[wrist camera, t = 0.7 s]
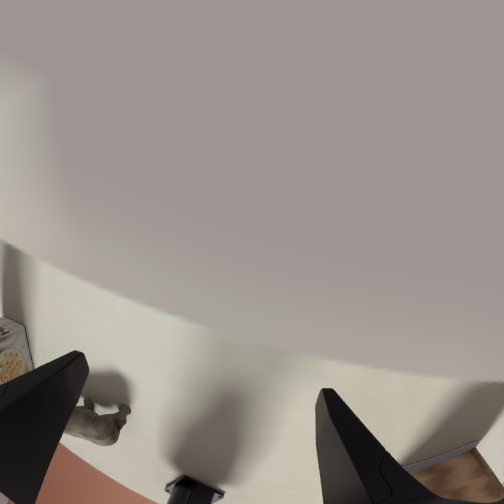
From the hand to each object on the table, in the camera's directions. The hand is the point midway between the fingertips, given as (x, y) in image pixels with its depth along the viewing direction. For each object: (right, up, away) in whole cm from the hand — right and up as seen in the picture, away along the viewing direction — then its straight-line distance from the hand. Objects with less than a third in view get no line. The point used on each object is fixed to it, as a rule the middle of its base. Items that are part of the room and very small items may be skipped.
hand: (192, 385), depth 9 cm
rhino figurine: (-19, -15, +19) cm, 31 cm away
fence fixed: (+28, -26, +15) cm, 41 cm away
